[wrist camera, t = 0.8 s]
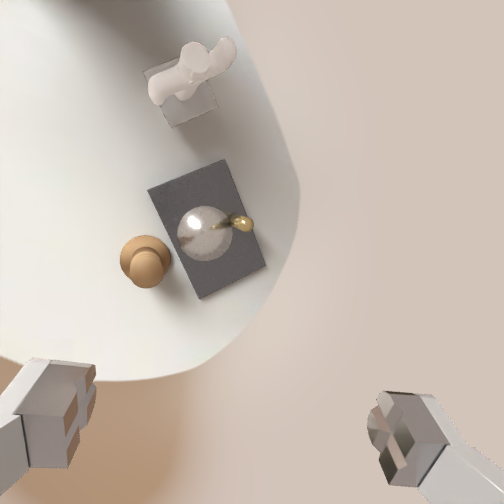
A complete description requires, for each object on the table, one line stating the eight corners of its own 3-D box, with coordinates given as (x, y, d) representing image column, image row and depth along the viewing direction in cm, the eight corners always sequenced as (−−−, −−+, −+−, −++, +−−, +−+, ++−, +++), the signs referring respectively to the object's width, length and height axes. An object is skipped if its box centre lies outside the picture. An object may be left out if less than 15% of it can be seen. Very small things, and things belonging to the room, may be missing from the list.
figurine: (134, 83, 43) (132, 35, 29) (196, 58, 45) (222, 1, 31) (161, 136, 46) (171, 114, 32) (219, 109, 47) (253, 77, 34)
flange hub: (111, 247, 46) (105, 260, 38) (157, 227, 48) (160, 236, 40) (133, 289, 48) (132, 309, 40) (177, 268, 50) (184, 284, 42)
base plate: (147, 190, 46) (147, 190, 45) (222, 159, 49) (224, 159, 47) (197, 295, 52) (199, 299, 50) (262, 263, 54) (266, 265, 53)
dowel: (226, 217, 49) (237, 221, 44) (238, 212, 50) (250, 215, 44) (231, 229, 50) (243, 234, 44) (243, 223, 50) (255, 228, 45)
